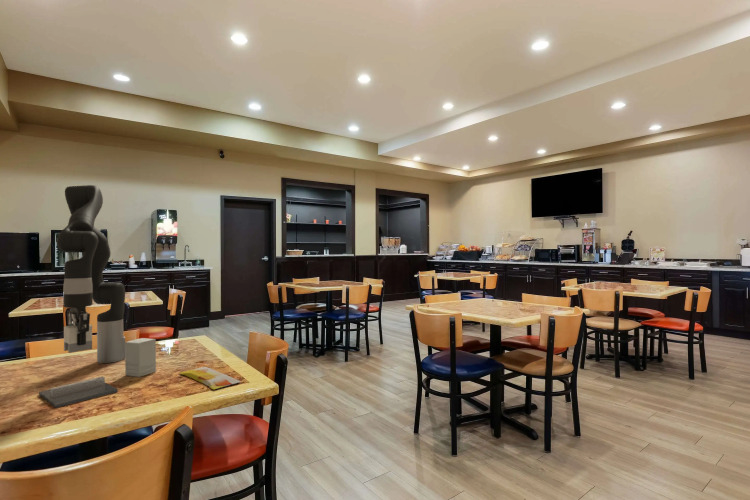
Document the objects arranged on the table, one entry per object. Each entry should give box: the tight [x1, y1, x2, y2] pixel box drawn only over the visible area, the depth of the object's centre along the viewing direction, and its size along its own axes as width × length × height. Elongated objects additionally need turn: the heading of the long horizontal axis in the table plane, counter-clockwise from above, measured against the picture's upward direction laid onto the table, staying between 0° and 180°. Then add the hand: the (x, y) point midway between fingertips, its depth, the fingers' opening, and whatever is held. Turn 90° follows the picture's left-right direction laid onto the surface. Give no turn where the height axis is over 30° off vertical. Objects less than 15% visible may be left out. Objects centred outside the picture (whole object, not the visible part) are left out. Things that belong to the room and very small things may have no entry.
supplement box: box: [124, 337, 157, 378], centre depth 144 cm, size 7×7×13 cm
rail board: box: [38, 376, 118, 409], centre depth 124 cm, size 16×18×4 cm
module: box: [63, 324, 93, 354], centre depth 124 cm, size 6×6×8 cm
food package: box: [179, 366, 242, 390], centre depth 138 cm, size 27×2×10 cm
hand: (78, 343), depth 124 cm, fingers closed on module, 5 cm apart
